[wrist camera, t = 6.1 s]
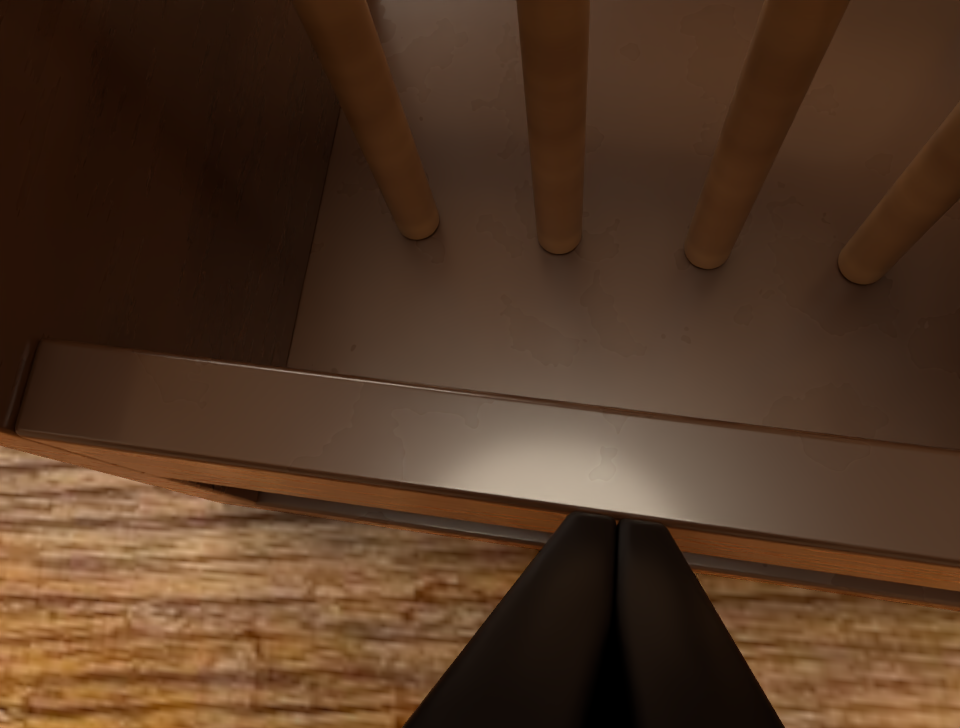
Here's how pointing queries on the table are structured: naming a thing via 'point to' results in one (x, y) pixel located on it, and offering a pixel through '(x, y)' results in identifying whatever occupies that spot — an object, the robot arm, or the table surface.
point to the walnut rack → (501, 268)
